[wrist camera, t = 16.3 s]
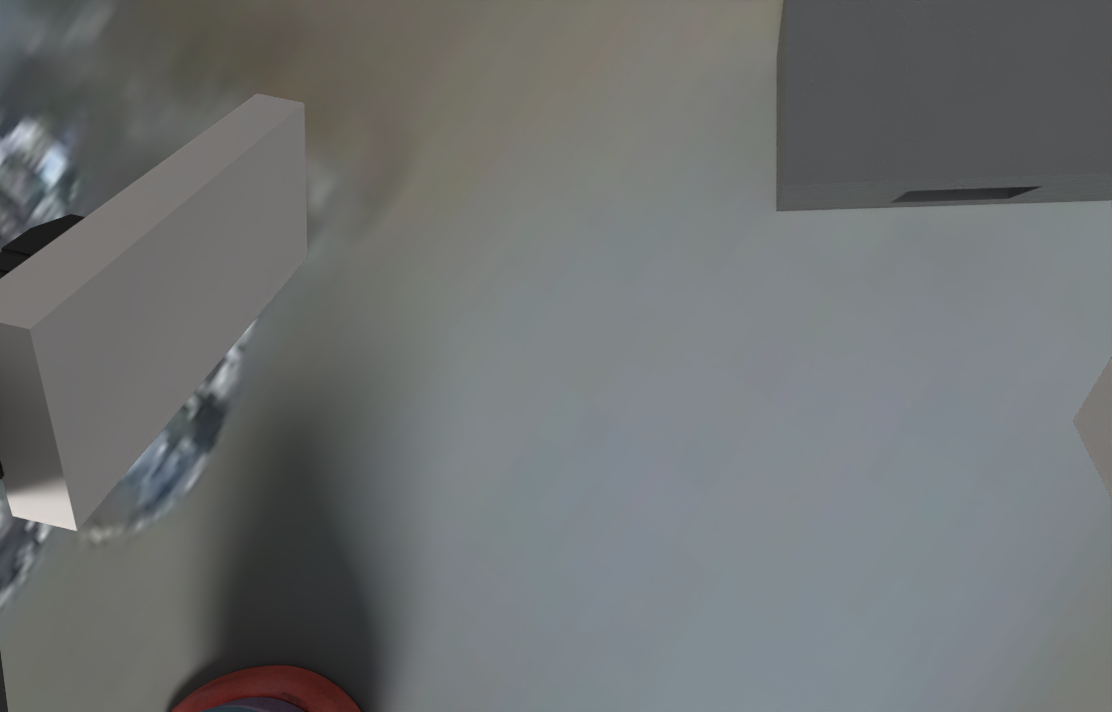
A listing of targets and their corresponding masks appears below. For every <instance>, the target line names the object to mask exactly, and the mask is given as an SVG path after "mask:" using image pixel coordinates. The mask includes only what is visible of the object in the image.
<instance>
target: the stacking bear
mask: <svg viewBox="0 0 1112 712" xmlns="http://www.w3.org/2000/svg"><path fill="white" fill-rule="evenodd" d="M170 712H361V711H360V709H359V708H358V706H357V705H356V704H355V703H354V701H353V700H352V699H351V698H350V697H349V696H348V695H347V694H346V693H345V692H344V691H343V690H342V689H340V688H339V687H338V686H336V685H335V684H334V683H332V682H331V681H330V680H328V679H326V678H324V677H323V676H321V675H319V674H317V673H314V672H312V671H309V670H306V669H303V668H299V667H295V666H286V665H271V666H259V667H253V668H248V669H243V670H239V671H236V672H233V673H230V674H227V675H224V676H221V677H219V678H217V679H215V680H212V681H210V682H209V683H207V684H205V685H203V686H202V687H200V688H199V689H197V690H196V691H194V692H193V693H191V694H190V695H189V696H187V697H186V698H185V699H184V700H183V701H181V702H180V703H179V704H178V705H177V706H176V707H174V708H173V709H172V710H171V711H170Z"/></svg>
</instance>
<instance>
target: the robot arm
mask: <svg viewBox="0 0 1112 712" xmlns="http://www.w3.org/2000/svg"><path fill="white" fill-rule="evenodd" d="M306 258H307V226H306V173H305V120H304V103H301V102H296V101H291V100H286V99H281V98H276V97H271V96H266V95H262V94H256V95H254V96H253V97H251V98H250V99H249V100H247V101H246V102H245V103H243V104H242V105H240V106H239V107H238V108H236V109H235V110H233V111H232V112H231V113H229V114H228V115H227V116H225V117H224V118H222V119H221V120H220V121H218V122H217V123H215V124H214V125H213V126H211V127H210V128H209V129H207V130H206V131H204V132H203V133H202V134H200V135H199V136H197V137H196V138H195V139H193V140H192V141H191V142H189V143H188V144H186V145H185V146H184V147H182V148H181V149H179V150H178V151H177V152H175V153H174V154H173V155H171V156H170V157H168V158H167V159H166V160H164V161H163V162H161V163H160V164H159V165H157V166H156V167H155V168H153V169H152V170H150V171H149V172H148V173H146V174H145V175H143V176H142V177H141V178H139V179H138V180H137V181H135V182H134V183H132V184H131V185H130V186H128V187H127V188H125V189H124V190H123V191H121V192H120V193H119V194H117V195H116V196H114V197H113V198H112V199H110V200H109V201H107V202H106V203H105V204H103V205H102V206H101V207H99V208H98V209H96V210H95V211H94V212H92V213H91V214H90V215H88V216H87V217H82V216H77V215H72V214H70V215H67V216H64V217H62V218H59V219H56V220H53V221H50V222H47V223H44V224H42V225H39V226H36V227H33V228H30V229H29V230H27V231H26V232H25V233H23V234H22V235H20V236H19V237H17V238H16V239H14V240H13V241H11V242H10V243H8V244H7V245H5V246H4V247H3V248H2V251H1V253H0V479H1V478H2V480H3V484H4V487H5V491H6V494H7V498H8V501H9V505H10V508H11V511H12V515H13V516H15V517H19V518H24V519H28V520H32V521H37V522H41V523H45V524H49V525H54V526H58V527H62V528H67V529H71V530H75V531H77V530H78V529H79V528H80V527H81V526H82V524H83V523H84V522H85V521H86V520H87V518H88V517H89V516H90V515H91V514H92V513H93V511H94V510H95V509H96V508H97V507H98V505H99V504H100V503H101V502H102V501H103V499H104V498H105V497H106V496H107V495H108V494H109V492H110V491H111V490H112V489H113V488H114V486H115V485H116V484H117V483H118V482H119V480H120V479H121V478H122V477H123V476H124V475H125V473H126V472H127V471H128V470H129V469H130V467H131V466H132V465H133V464H134V463H135V461H136V460H137V459H138V458H139V457H140V456H141V454H142V453H143V452H144V451H145V450H146V448H147V447H148V446H149V445H150V444H151V442H152V441H153V440H154V439H155V438H156V436H157V435H158V434H159V433H160V432H161V431H162V429H163V428H164V427H165V426H166V425H167V423H168V422H169V421H170V420H171V419H172V417H173V416H174V415H175V414H176V413H177V412H178V410H179V409H180V408H181V407H182V406H183V404H184V403H185V402H186V401H187V400H188V398H189V397H190V396H191V395H192V394H193V393H194V391H195V390H196V389H197V388H198V387H199V385H200V384H201V383H202V382H203V381H204V379H205V378H206V377H207V376H208V375H209V374H210V372H211V371H212V370H213V369H214V368H215V366H216V365H217V364H218V363H219V362H220V360H221V359H222V358H223V357H224V356H225V355H226V353H227V352H228V351H229V350H230V349H231V347H232V346H233V345H234V344H235V343H236V341H237V340H238V339H239V338H240V337H241V336H242V334H243V333H244V332H245V331H246V330H247V328H248V327H249V326H250V325H251V324H252V322H253V321H254V320H255V319H256V318H257V317H258V315H259V314H260V313H261V312H262V311H263V309H264V308H265V307H266V306H267V305H268V303H269V302H270V301H271V300H272V299H273V298H274V296H275V295H276V294H277V293H278V292H279V290H280V289H281V288H282V287H283V286H284V284H285V283H286V282H287V281H288V280H289V279H290V277H291V276H292V275H293V274H294V273H295V271H296V270H297V269H298V268H299V267H300V265H301V264H302V263H303V262H304V261H305V260H306ZM1073 422H1074V424H1075V426H1076V428H1077V430H1078V432H1079V434H1080V436H1081V439H1082V441H1083V443H1084V445H1085V447H1086V449H1087V451H1088V453H1089V455H1090V457H1091V459H1092V461H1093V463H1094V465H1095V467H1096V469H1097V471H1098V473H1099V475H1100V477H1101V479H1102V481H1103V483H1104V485H1105V487H1106V489H1107V491H1108V493H1109V495H1110V497H1111V499H1112V357H1111V359H1110V361H1109V362H1108V364H1107V366H1106V367H1105V369H1104V370H1103V372H1102V374H1101V375H1100V377H1099V379H1098V380H1097V382H1096V383H1095V385H1094V387H1093V388H1092V390H1091V392H1090V393H1089V395H1088V396H1087V398H1086V400H1085V401H1084V403H1083V405H1082V406H1081V408H1080V409H1079V411H1078V413H1077V414H1076V416H1075V418H1074V419H1073ZM0 712H8V707H7V700H6V692H5V684H4V676H3V668H2V661H1V653H0Z"/></svg>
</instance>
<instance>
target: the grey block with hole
mask: <svg viewBox="0 0 1112 712" xmlns="http://www.w3.org/2000/svg"><path fill="white" fill-rule="evenodd" d="M1104 200H1112V0H784V2H783V11H782V19H781V27H780V36H779V44H778V53H777V211H795V210H826V209H857V208H888V207H919V206H949V205H980V204H1011V203H1042V202H1073V201H1104Z"/></svg>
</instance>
